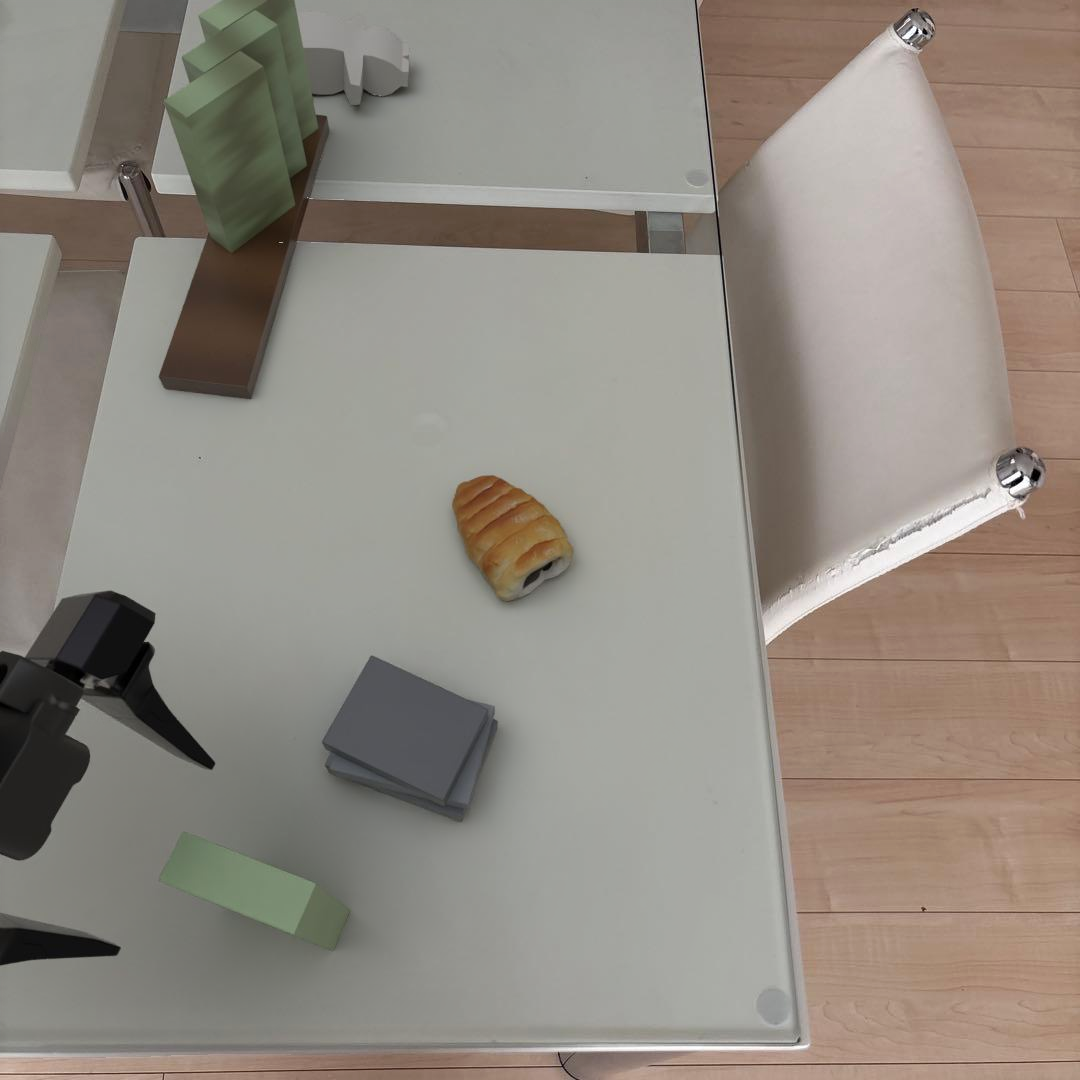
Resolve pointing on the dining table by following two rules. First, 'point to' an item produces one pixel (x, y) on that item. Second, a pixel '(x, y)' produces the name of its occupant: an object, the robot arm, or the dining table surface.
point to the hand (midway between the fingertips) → (165, 854)
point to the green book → (255, 890)
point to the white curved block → (352, 56)
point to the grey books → (410, 739)
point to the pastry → (509, 536)
